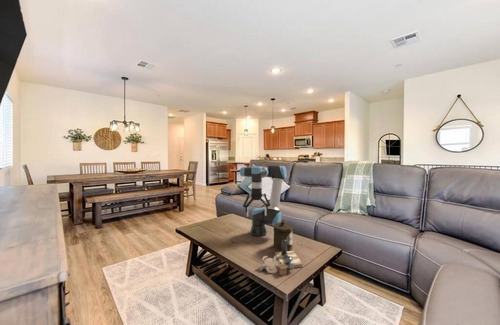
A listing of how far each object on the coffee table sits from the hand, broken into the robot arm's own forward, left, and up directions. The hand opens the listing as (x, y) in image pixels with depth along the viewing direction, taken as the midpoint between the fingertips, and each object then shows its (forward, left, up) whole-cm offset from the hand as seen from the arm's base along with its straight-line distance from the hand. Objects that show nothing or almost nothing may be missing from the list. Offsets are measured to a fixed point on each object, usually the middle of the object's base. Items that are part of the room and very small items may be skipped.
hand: (256, 215), depth 160 cm
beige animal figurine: (+22, +6, -29) cm, 37 cm away
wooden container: (-5, +22, -29) cm, 37 cm away
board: (+14, +20, -29) cm, 38 cm away
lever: (+18, +18, -26) cm, 37 cm away
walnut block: (+27, +11, -29) cm, 41 cm away
